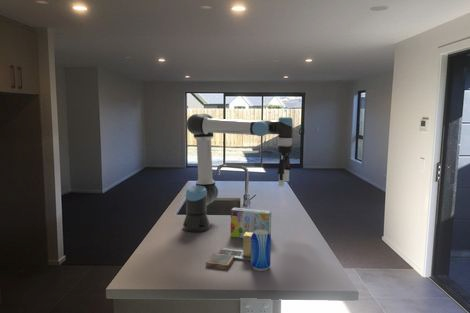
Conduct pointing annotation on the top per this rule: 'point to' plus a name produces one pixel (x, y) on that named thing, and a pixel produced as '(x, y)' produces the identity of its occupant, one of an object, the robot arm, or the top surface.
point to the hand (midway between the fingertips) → (283, 183)
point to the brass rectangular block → (247, 244)
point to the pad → (220, 261)
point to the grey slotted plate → (234, 254)
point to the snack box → (249, 221)
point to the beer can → (260, 249)
